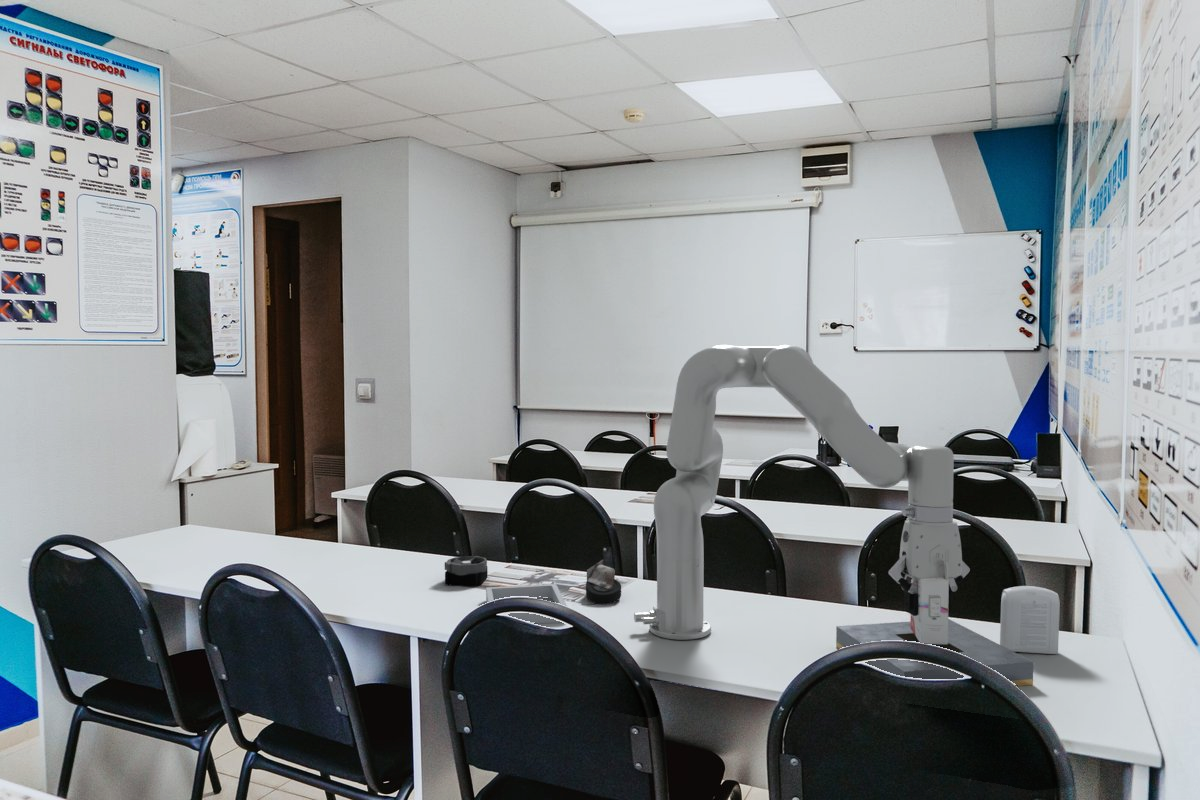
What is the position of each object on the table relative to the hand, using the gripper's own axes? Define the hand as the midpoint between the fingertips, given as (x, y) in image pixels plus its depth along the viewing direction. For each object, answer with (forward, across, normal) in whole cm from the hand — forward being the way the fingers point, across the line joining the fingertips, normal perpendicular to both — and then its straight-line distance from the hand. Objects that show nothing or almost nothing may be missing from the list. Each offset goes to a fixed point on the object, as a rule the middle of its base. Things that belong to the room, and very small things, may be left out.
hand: (928, 611), depth 149 cm
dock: (+10, 0, 0) cm, 10 cm away
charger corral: (+10, -69, +47) cm, 84 cm away
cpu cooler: (+10, -81, +75) cm, 111 cm away
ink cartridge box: (+5, 0, 0) cm, 5 cm away
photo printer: (+10, +23, +3) cm, 25 cm away
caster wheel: (+10, -50, +54) cm, 74 cm away
